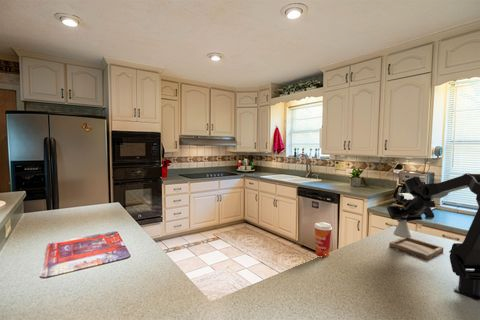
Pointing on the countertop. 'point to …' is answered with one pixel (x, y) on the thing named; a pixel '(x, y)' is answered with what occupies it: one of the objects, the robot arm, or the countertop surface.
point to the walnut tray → (416, 248)
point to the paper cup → (322, 238)
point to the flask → (402, 230)
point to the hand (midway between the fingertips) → (401, 221)
